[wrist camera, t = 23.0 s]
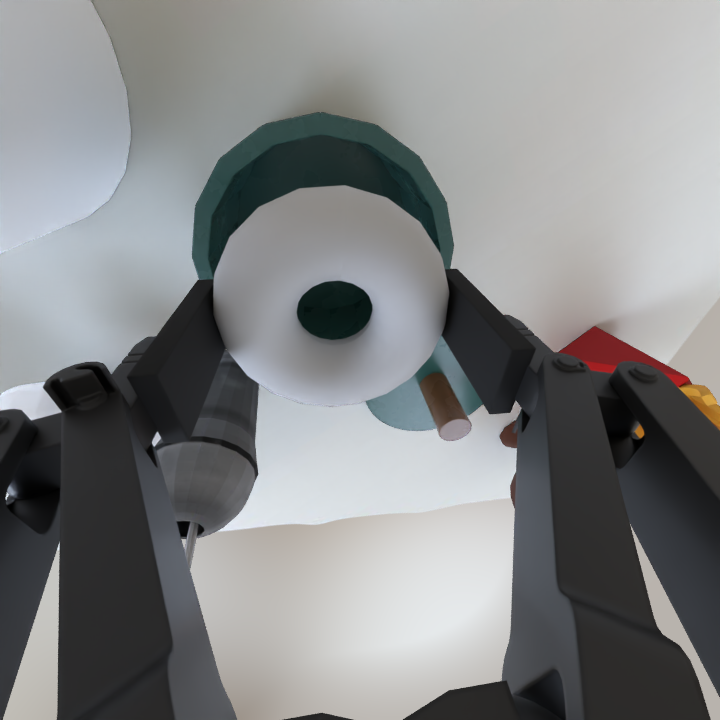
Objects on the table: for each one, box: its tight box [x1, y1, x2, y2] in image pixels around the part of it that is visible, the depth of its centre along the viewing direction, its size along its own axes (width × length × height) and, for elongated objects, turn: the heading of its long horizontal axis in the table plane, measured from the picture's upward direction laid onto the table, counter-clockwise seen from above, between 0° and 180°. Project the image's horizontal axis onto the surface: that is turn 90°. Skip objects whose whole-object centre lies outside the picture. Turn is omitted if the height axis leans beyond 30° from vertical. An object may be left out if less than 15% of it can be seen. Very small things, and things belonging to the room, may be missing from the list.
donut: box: [213, 185, 450, 407], centre depth 14 cm, size 10×4×10 cm
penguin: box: [0, 382, 161, 446], centre depth 28 cm, size 8×8×15 cm
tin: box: [192, 112, 454, 340], centre depth 21 cm, size 14×14×8 cm
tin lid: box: [366, 335, 483, 441], centre depth 32 cm, size 15×15×8 cm
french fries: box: [558, 326, 720, 438], centre depth 29 cm, size 9×8×15 cm
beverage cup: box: [154, 351, 259, 569], centre depth 23 cm, size 7×7×20 cm
